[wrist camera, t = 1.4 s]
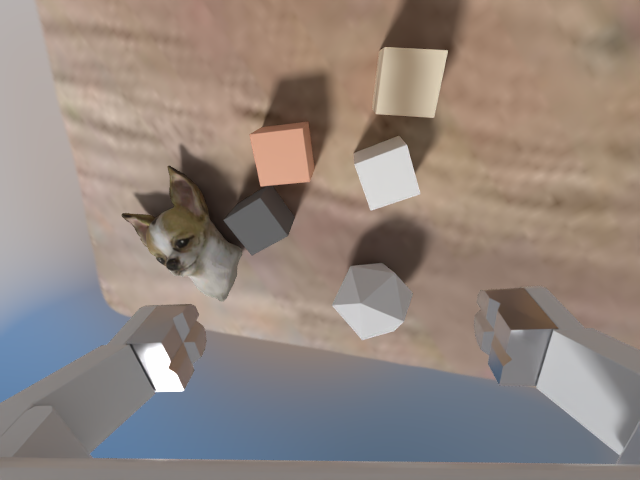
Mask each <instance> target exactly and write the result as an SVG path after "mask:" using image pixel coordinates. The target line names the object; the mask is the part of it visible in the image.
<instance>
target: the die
mask: <svg viewBox="0 0 640 480" xmlns="http://www.w3.org/2000/svg"><path fill="white" fill-rule="evenodd" d="M412 295H413V293H412V291H411V290H410V289H409V288H408V287H407V286H406V285H405V284H404V283H403V281H402V280H401V279H400V278H399V277H398V276H397V275H396V274H395V273H394V272H393V271H392V270H390V269H389V268H388V267H387V266H386V265H384V264H383V263H375V264H365V265H355V266H350V268H349V270H348V272H347V275H346V277H345V279H344V281H343V283H342V285H341V287H340V289H339V291H338V294H337V296H336V298H335V300H334V302H333V304H332V306H333V307H334V308H335V309H336V310H337V312H338V313H339V314H340V315H341V316H342V317H343V319H344V320H345V321H346V322H347V323H348V324H349V325H350V327H351V328H352V329H353V330H354V331H355V332H356V333H357V335H358V336H359V337H360V338H361V339H362V340H364V339H368V338H371V337H375V336H378V335H382V334H385V333H389V332H393V331H395V330H396V329H397V328H398V327H399V326H400V325H401V324H402V323H403V322H404V319H405V316H406V313H407V310H408V307H409V304H410V301H411V298H412Z"/></svg>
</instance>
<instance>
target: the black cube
mask: <svg viewBox="0 0 640 480" xmlns="http://www.w3.org/2000/svg"><path fill="white" fill-rule="evenodd" d="M294 218H295V217H294V216H293V214H292V213H291V211H290V210H289V209H288V207H287V206H286V204H285V203H284V201H283V200H282V199H281V197H280V196H279V194H278V193H277V191H276V190H275V189H274V187H273V186H272V185H270V186H265V187H264V188H262V189H261V190H259V191H257V192H256V193H254V194H253V195H251V196H249V197H248V198H246V199H244V200H243V201H241V202H240V203H238V204H237V205H236V206H235V207H234V209H233V210H232V211H231V212H230V213H229V214H228V215H227V217H226V218H225V219H224V222H225V223H226V224H227V225H228V227H229V228H230V229H231V230H232V232H233V233H234V234H235V235H236V237H237V238H238V239H239V240H240V242H241V243H242V244H243V245H244V247H245V248H246V249H247V250H248V252H249V253H250V254H251V255H254V254H255V253H257V252H259V251H261V250H263V249H265V248H267V247H268V246H270V245H272V244H274V243H276V242H278V241H279V240H281V239H283V238H285V237H287V236H288V234H289V232H290V229H291V226H292V224H293V221H294Z"/></svg>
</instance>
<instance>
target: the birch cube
mask: <svg viewBox="0 0 640 480" xmlns="http://www.w3.org/2000/svg"><path fill="white" fill-rule="evenodd" d="M447 53H448V50H431V49H413V48H395V47H384V48H383V49H381V50H380V51H379V56H378V64H377V72H376V80H375V89H374V97H373V105H372V109H373V111H374V112H375V113H376V114H382V115H398V116H413V117H429V118H434V115H435V111H436V106H437V101H438V96H439V92H440V87H441V82H442V77H443V72H444V68H445V63H446V58H447Z"/></svg>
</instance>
